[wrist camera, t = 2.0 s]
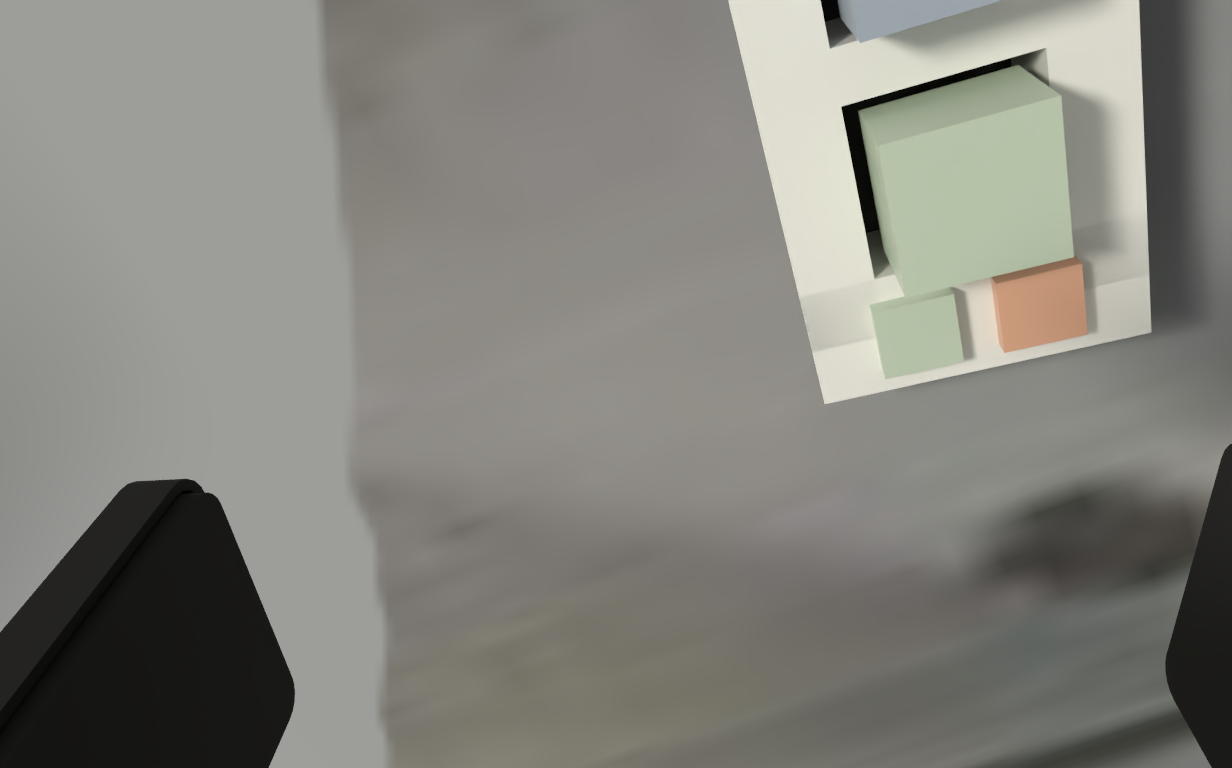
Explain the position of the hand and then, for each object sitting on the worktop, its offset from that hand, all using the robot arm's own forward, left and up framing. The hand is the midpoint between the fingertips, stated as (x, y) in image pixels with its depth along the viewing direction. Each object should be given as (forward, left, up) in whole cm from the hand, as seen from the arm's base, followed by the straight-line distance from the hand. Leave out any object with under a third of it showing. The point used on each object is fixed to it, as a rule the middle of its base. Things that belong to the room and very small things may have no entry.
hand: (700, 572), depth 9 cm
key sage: (-6, +4, -20) cm, 22 cm away
